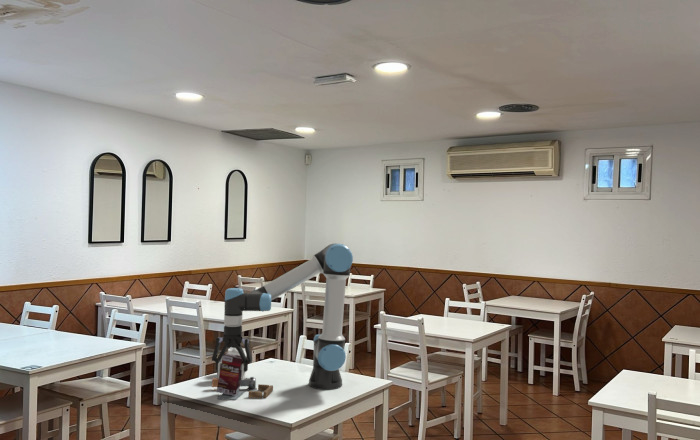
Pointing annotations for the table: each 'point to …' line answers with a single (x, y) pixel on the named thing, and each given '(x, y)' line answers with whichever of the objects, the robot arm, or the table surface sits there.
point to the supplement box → (230, 374)
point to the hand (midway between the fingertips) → (231, 378)
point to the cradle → (266, 393)
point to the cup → (235, 351)
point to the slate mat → (230, 396)
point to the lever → (246, 382)
